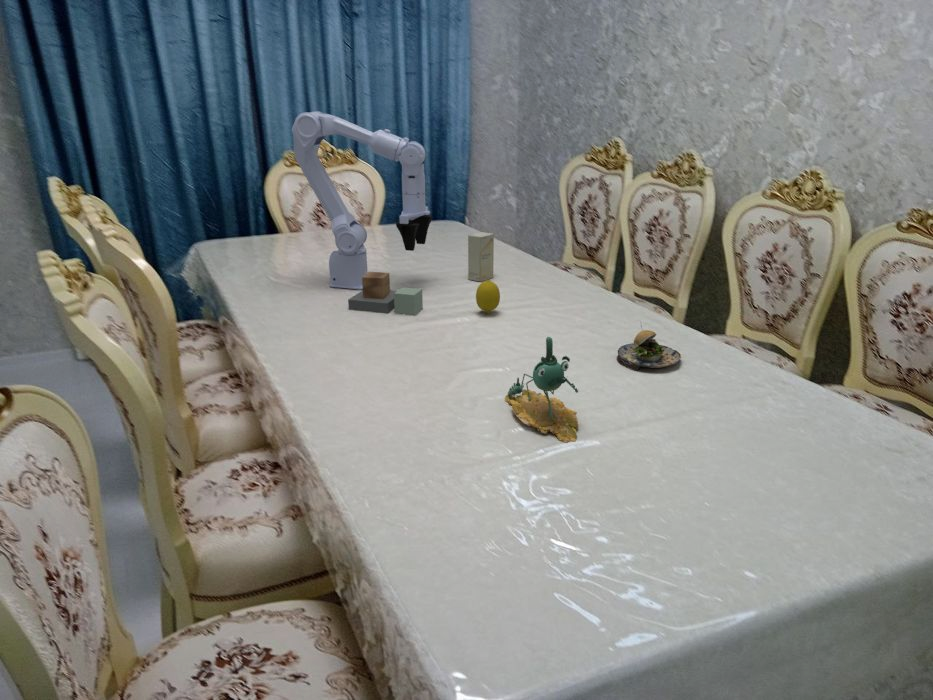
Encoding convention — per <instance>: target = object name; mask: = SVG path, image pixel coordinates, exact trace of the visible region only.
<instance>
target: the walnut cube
mask: <svg viewBox="0 0 933 700" xmlns="http://www.w3.org/2000/svg"><path fill="white" fill-rule="evenodd" d="M362 285H363V289H362V291H363V298H375V299H384V298H385V297H386V296H387V295H389V294H390V290H391V279H390V272H381V271H379V272H378V271H368V273H367V274H366V275H364V276H363V277H362Z"/></svg>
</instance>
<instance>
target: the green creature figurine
mask: <svg viewBox="0 0 933 700" xmlns="http://www.w3.org/2000/svg"><path fill="white" fill-rule="evenodd" d="M545 345H546V346H545V349H546V353H545V357H544V356H542V357H540V361H539V362H538V363H537V364H536V365H535V366H534V367H533V370H532V376H531V375H529V374H527V373H523V376H522V381H521V383H520V377H517V378H516V382H513V385H511V387H509V390H508V392H507V394H506V396H505V398H504V399H505V400H504V402H507V403H508V405H511V409H512V411H513V413H514V415H515V416H516V417H517V418H518V419H519V420H520V421H521V423H523V424H524V425H526V426H528V427H532V428H533V429H536V430H537V431H538V432H541V433H542V434H545V435H546V434H547V433H548V432H551V433H552V434H553V435H555V437H557V439H558V440H560V441H563V442H564V443H566V444H567V443H569V442H576V441H577V440H578V435H577V429H578V428H579V421H578V419H577V414H578V412H577V411H575V410H572V409H571V408H568V407H566V405H565V404H564V402H563V401H561V400H560V399H559V398H556V397H549V393H548V392H550V393H551V395H555V394H554V393H555V391H556V390H558V389H559V388H560V387H561V386H562V384H564V383H567V384H568V385H569V386H570V387H571V388H572V389H573V390H574V391H575V393H577V394H578V393H579V389H578V388H577V387H576V385H575V384H574V383H573V382H572V383H571V382H570V381H569V380H568V378H567V377H565V372H567V370H569V363H570V361H571V359H570V358H569V357H568V356H566V355H565V356H562V357H561V361H562V362H561V363H559V362H558V358H557V357H556V355H553V352H554V351H553V348H554V346H553V345H554V344H553V338H552V337H551V336H547V337H546V338H545ZM525 376H527V377H529V378H531V379H530V380H529V381H528V380H527V382H526V383H525V384H524V379H525ZM531 382H533V383H534V385H535V386H536V387H537V389H539V390H541V391H543V393H544V394H542V393H541V392H538V393H537V392H536V391H533V390H531V389H529V387H528V384H529V383H531ZM524 385H526V389H525V388H524V387H525V386H524Z"/></svg>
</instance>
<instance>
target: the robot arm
mask: <svg viewBox="0 0 933 700" xmlns="http://www.w3.org/2000/svg"><path fill="white" fill-rule="evenodd" d="M291 132H292V133H291V134H292V138H293V156H294V159H295V161H296V162H297V164H298V166H299V168H300V169H301V171H302V174H303V175H304V177H305V179H306V180H307V182H308V184H309V185H310V187H311V189H312V191H313V192H314V194H315V196H316V197H317V200H318V202H319V203H320V205H321V206H322V209H323V211H324V212H325V214H326V215H327V217H328V219H329V221H330V225H331V231H332V233H333V235H334V241H335V245H336V248H337V250H332V252H331V253H330V255H329V257H328V258H329V259H328V270H329V280H330V282H329V283H330V284H329V285H328V286H329V287H330V288H338V289H339V288H341V289H350V290H351V289H352V290H361V291H362V290H363V285H362V277H363V276H364V275H366V274H367V273H368V272H369V270H368V257H367V254H368V253H367V248H366V247H365V245H364V244H365V243H366V241H367V238H368V232H367V230H366V227H364V226H363V224H361V223H359V222H358V220H357V219H356V217H355V216H354V215H353V214H352V213H350V211H349V210H348V207H347V206H346V204H345V203H344V201H343V199H342V198H341V195H340V194H339V192H338V190H337V188H336V186H335V185H334V183H333V181H332V179H331V178H330V176H329V174H328V172H327V171H326V168H325V167H324V165H323V163H322V161H321V159H320V158H319V155H318V154H319V153H318V152H319V151H320V147H321V144H322V142H323V140H325V137H326V136H327V137H328V136H332V135H333V136H334V135H339V136H342V137H345V138H347V139H351V140H354V141H356V142H359V143H361V144H365V145H367V146H369V148H370V150H371V152H372V153H373V154H376V155H377V156H381V157H383V158H386V159H388V160H391V161H394V162H397V163H398V162H399V163H400V165H401V193H402V211H401V214H400V215H399V221H396V222H395V227H396V228H397V230H398V232H399V234H400V235H401V239H402V242H403V246H404V249H405V251H411V252H413V251H415V248H416V247H415V246H416V244H417V245H425V244H426V241H427V235H428V231H429V227H430V224H431V222H432V220H433V215H430V214H431V211H430V210H429V206H427V204H426V173H425V165H424V163H423V162H424V161H425V158H426V151H425V148H424V146H423V145H422V144H421V143H419V142H418V141H416V140H415V141H414V140H412V141H409V140H410V139H409V138H408V137H401V136H398V135H395V134H394V133H391V130H390V129H387V128H384V130H382V129H378V130H375V131H374V132H373V131H370V130H368V129H366V128H364V127H361V126H360V125H357V124H355V123H352V122H350V121H349V120H346V119H344V118H341V117H339V116H337V115H333V114H329V113H323V112H322V111H318V110H313V111H311V112H307V111H305V112H302V113H299V114H298V115H297V116H296V118H295V120H294V123H293V125H292V127H291Z"/></svg>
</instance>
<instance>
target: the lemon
mask: <svg viewBox="0 0 933 700" xmlns="http://www.w3.org/2000/svg"><path fill="white" fill-rule="evenodd" d="M475 300H476V304H477V307H478V308H479V310H480V309H481V310H482V311H484V312H485V314H490V313H491V312H492V311H494V310H496V308H498V306H499V304H500V302H501V301H500V300H501V292H500V289H499V287H498V285H497V284H496V283H495V282H493V281H491V280H490V279H487V280H484V281H482V282H481V283H480V284H479V285H478V286H477V289H476V293H475Z"/></svg>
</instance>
